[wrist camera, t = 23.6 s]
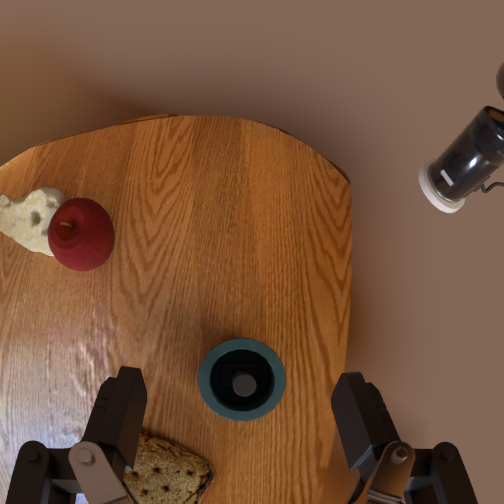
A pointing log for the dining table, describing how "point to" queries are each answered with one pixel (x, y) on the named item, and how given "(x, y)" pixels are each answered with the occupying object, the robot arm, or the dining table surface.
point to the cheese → (30, 217)
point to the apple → (81, 234)
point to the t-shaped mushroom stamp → (240, 377)
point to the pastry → (168, 473)
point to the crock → (225, 397)
